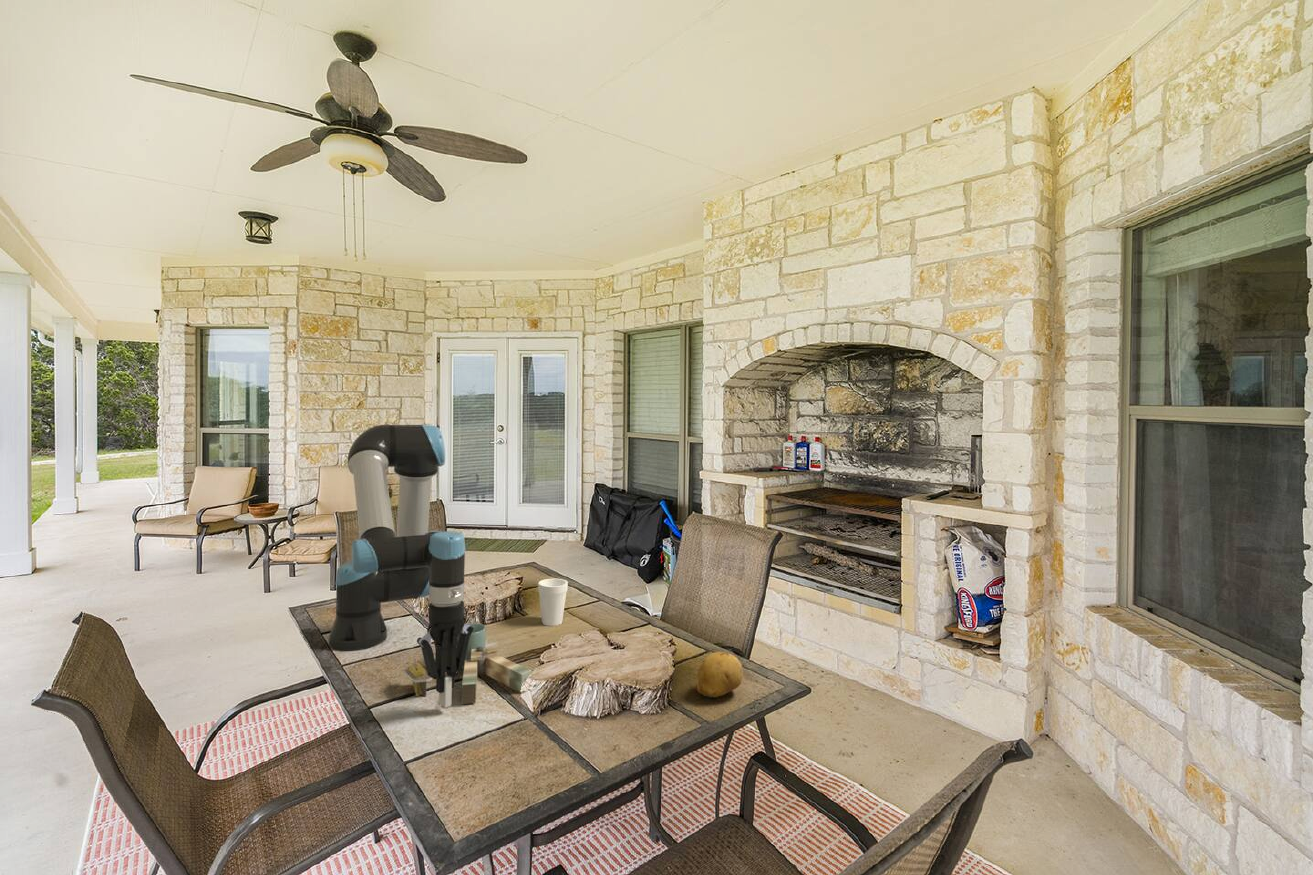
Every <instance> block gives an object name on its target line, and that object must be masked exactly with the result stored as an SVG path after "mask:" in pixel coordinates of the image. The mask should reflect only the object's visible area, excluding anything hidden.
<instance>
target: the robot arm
mask: <svg viewBox="0 0 1313 875" xmlns="http://www.w3.org/2000/svg"><path fill="white" fill-rule="evenodd" d="M348 451H349V452H348V454H347V468H348V471H349V472H350V473H351V475H353V483H354V494H355V496H354V497H355V503H356V513H357V525H358V534H359V539H355V540H353V542H352V543H351V547H350V548H351V557H350V559H351V560H349V561H347V562H345V563H342V564H341V565H339V567H338V568H337V571H336V579H335V586H336V593H335V595H336V596H335V600H336V601H335V603H336V605H335V618H334V622H333V624H332V627H331V630H330V633H329V635H328V646H329V647H331V648H332V649H334V650H338V651H356V650H357V651H358V650H365V649H369V648H372V647H375V646H378V645H380V644H382V643H383V642H385V641H386V640H387V639H388V638H387V637H388V629H387V625H386V623H385V620H384V618H383V614H382V611H381V608H382V607H381V604H382V603H388V602H389V603H390V602H395V601H403V600H404V601H405V600H412V599H413V600H417V599H419V598H425V597H428V602H429V604H428V623H429V625H428V627H427V629H426V630H427V631H426V632H427V633H426V634H424V635H423V636H422V637H418V638H417V639H416V643H417V644H418V645H419V647H420V648H421V651H422V656H423V660H424V664H425V670H426V672H427V674H428V676H430V677H431V678H432V680H435V690H436V692H437V693H438V704H439V705H441V706H442V707H443V708H448V707H450V706H452V695H453V694H452V692H453V691H452V690H453V689H454V688H455V682H456V681H455V680H456V677H458V672H460V671H462V670H464V667H463V666H464V661H465V656H466V652H467V647H468V643H469V638H470V636H471V634H472V632H473V630H474V628H473V627H472V626H469V625H467V624H466V623H465V620H464V617H465V601H464V599H465V569H466V568H465V564H466V562H465V561H466V554H465V553H466V550H467V549H466V548H467V547H466V543H465V542H466V541H465V539H466V538H465V535H464V534H463V533H462V532H459V531H451V530H449V531H448V530H447V531H441V530H431V531H429V522H430V509H431V508H430V507H431V493H432V478H433V477H435V476H436V475H437V474H438V472H439V467H442V466H444V465H445V462H446V450H445V443H444V437H443V434H442V431H441V430H440V428H439V427H438V426H436V425H429V424H428V425H427V424H426V425H425V424H378V425H374V426H372V427H370V428H367V429H366V430H365V431H363V432H362V433H361V434H359V436H358V437H357V438H355V439H354V441H353V443H352V444H351V447H350V448H349V450H348ZM388 468H393V472H394V474H396V475H397V476H398V477H399V483H398V499H397V500H398V504H397V522H396V531H395V525H394V519H393V512H392V506H391V505H392V504H391V499H390V492H389V485H388V479H387V473H386V472H387V469H388ZM459 634H460V635H459ZM458 636H459V639H458ZM432 641H433V642H434V643H433V644H434V647H435V653H434V651H433V650H434V649H433V647H432ZM456 646H457V648H456ZM434 654H435V656H434Z"/></svg>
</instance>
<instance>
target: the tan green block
mask: <svg viewBox="0 0 1313 875" xmlns="http://www.w3.org/2000/svg"><path fill="white" fill-rule="evenodd" d="M531 673H532V674H533V670H531V669H529V668H526V667H525V666H522V665H521V664H518V663H516V662H513V661H512V660H509V659H507V658H505V657H503V656H502V655H500V654H499V655H498V654H497V653H491V654H489V653H488V652H486V651H485V652H484V651H482V659H481V660H477V677H480V676H485V675H486V676H488V677H490V678H492V679H494V680H496V681H497V682H500V683H501V684H503V685H506V686H507V687H509V688H511V689H513V690H514V691H516V692H518V693H520V690H521V686H522V683H523V682H524V681H525V679H526V678H527V677H528V676H529V675H530V674H531Z"/></svg>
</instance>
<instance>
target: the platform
mask: <svg viewBox="0 0 1313 875" xmlns="http://www.w3.org/2000/svg"><path fill="white" fill-rule="evenodd" d="M403 673H404V675H406V676H407V678H409V679H410V680H411V682H412V685H413V689H414V692H415V693H414V694H415V696H416V697H418V696H420V695H421V696H422V695H423V696H424V697H425V698H427V686H428V685H427V682H430V681H432V680H433V678H431V677H430V676H428V674H427V670H426V668H424V667H423V666H422V665H421V664H420V663H419V662H417V661H416V662H415V663H414V664H411V663H409V665H408V667H406V668H405V669H404V672H403Z"/></svg>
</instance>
